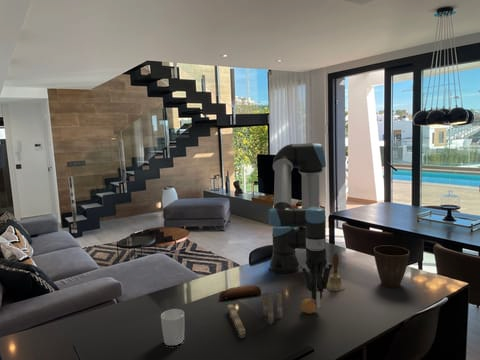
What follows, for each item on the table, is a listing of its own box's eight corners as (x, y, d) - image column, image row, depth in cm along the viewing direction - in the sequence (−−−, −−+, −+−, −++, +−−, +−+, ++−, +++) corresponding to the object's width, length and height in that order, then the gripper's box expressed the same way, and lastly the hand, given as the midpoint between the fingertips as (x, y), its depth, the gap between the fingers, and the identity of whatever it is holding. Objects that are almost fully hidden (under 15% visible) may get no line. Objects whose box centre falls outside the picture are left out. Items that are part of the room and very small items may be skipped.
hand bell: (343, 283, 167) (342, 250, 165) (346, 291, 159) (346, 256, 157) (324, 283, 168) (324, 250, 166) (327, 291, 159) (326, 256, 158)
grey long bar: (228, 312, 144) (227, 305, 143) (233, 311, 144) (232, 304, 144) (240, 338, 124) (239, 330, 124) (245, 338, 125) (245, 329, 124)
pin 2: (267, 322, 135) (266, 299, 134) (272, 321, 135) (272, 298, 134) (269, 324, 133) (268, 301, 132) (274, 323, 133) (273, 300, 132)
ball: (302, 311, 143) (297, 301, 142) (314, 304, 144) (308, 293, 143) (308, 319, 138) (302, 307, 137) (320, 311, 139) (314, 299, 138)
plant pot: (392, 276, 173) (393, 243, 172) (416, 288, 159) (417, 252, 157) (366, 281, 169) (366, 247, 167) (389, 293, 155) (389, 257, 153)
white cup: (164, 336, 128) (162, 309, 127) (186, 334, 128) (185, 308, 127) (161, 349, 120) (159, 321, 119) (185, 347, 121) (183, 319, 119)
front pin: (276, 316, 139) (275, 294, 138) (281, 315, 139) (280, 293, 138) (278, 318, 137) (277, 296, 136) (283, 318, 137) (282, 295, 136)
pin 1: (262, 314, 141) (262, 292, 140) (267, 313, 141) (267, 291, 140) (264, 317, 139) (263, 294, 138) (269, 316, 139) (268, 293, 138)
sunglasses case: (255, 287, 166) (257, 278, 162) (260, 300, 161) (262, 291, 157) (217, 293, 162) (218, 283, 158) (220, 306, 156) (221, 297, 152)
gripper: (304, 253, 133) (305, 313, 136) (336, 248, 137) (336, 308, 139) (296, 247, 140) (297, 305, 143) (326, 243, 144) (327, 300, 147)
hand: (316, 306), depth 141 cm, fingers closed
